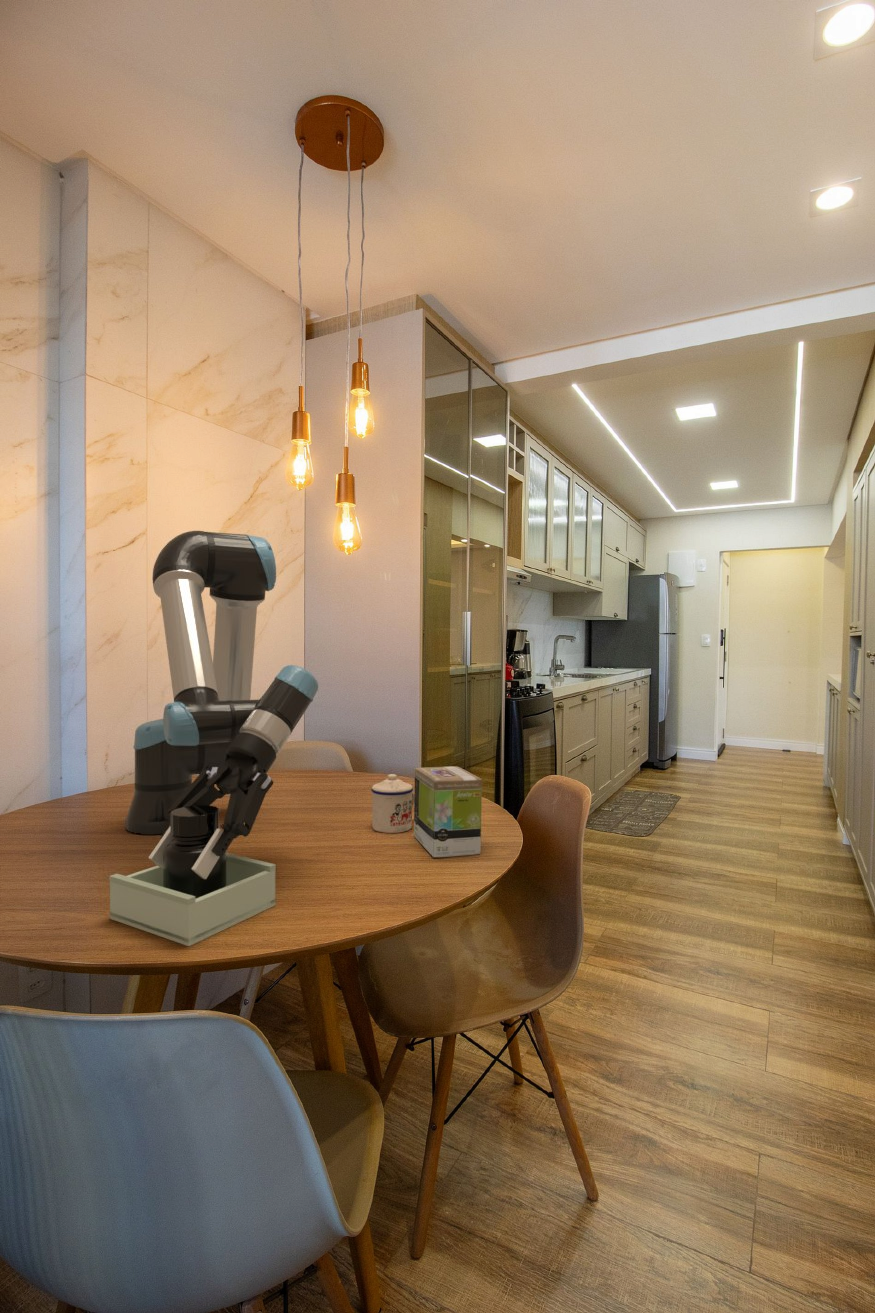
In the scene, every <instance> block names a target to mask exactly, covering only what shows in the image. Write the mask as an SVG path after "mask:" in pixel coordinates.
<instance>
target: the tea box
mask: <svg viewBox="0 0 875 1313" xmlns="http://www.w3.org/2000/svg"><path fill="white" fill-rule="evenodd" d="M482 795H483V779H482V778H480V777H479V776H477V775H475V774H473V773H471V772H470V771H467V770H466V769H463V768H462V767H459V766H457V765H456V766H434V767H431V766H430V767H429V766H428V767H427V766H426V767H415V768H414V796H415V797H414V806H413V810H414V812H413V836H414V838H415V839H416V840H417V841H418V842H419V843H420V844H421V846H423V848H425V850H426V851H427V852H428V853H429V854H430V856H432V858H449V857H450V858H451V857H462V856H474V855H480V854H481V848H482V847H481V846H482V808H483V806H482Z"/></svg>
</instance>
